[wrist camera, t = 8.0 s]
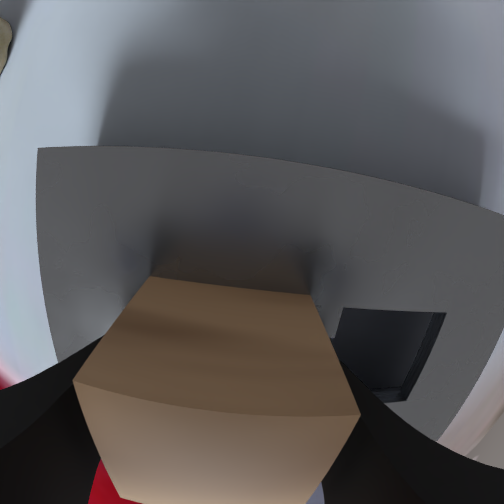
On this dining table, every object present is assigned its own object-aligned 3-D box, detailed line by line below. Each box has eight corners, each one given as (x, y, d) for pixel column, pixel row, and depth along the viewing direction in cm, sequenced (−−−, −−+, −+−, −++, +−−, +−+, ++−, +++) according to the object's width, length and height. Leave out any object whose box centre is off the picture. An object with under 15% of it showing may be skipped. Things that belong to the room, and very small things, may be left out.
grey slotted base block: (411, 395, 17) (437, 440, 12) (107, 375, 16) (79, 425, 11) (478, 208, 13) (534, 227, 9) (96, 148, 12) (37, 147, 8)
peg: (277, 370, 13) (295, 517, 6) (167, 357, 13) (120, 497, 6) (298, 268, 11) (361, 414, 4) (168, 253, 11) (71, 380, 4)
